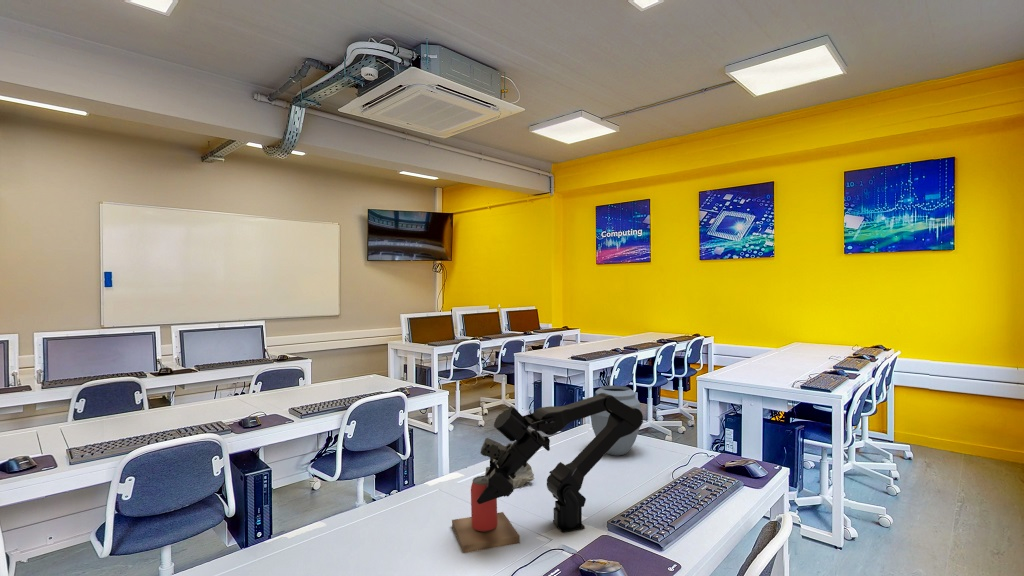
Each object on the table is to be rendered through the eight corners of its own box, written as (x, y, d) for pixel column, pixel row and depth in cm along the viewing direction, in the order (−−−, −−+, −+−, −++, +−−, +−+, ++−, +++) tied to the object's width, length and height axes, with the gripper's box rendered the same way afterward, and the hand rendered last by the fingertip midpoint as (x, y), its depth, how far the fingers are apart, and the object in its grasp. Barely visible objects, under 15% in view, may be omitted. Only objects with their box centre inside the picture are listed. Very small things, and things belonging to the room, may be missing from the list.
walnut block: (503, 521, 135) (502, 511, 135) (519, 546, 122) (519, 536, 122) (452, 529, 131) (452, 519, 131) (463, 556, 117) (463, 545, 117)
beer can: (499, 521, 129) (498, 474, 129) (495, 533, 123) (494, 484, 123) (474, 520, 130) (473, 474, 130) (469, 532, 123) (467, 483, 124)
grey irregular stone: (491, 493, 153) (491, 481, 153) (483, 474, 168) (483, 463, 168) (539, 488, 156) (539, 476, 156) (528, 470, 171) (527, 459, 171)
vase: (643, 446, 195) (643, 384, 195) (640, 463, 176) (640, 394, 176) (593, 442, 201) (593, 382, 201) (586, 458, 182) (585, 392, 182)
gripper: (499, 419, 136) (459, 460, 135) (498, 439, 117) (452, 487, 117) (528, 447, 136) (488, 488, 135) (532, 472, 117) (486, 520, 117)
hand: (478, 494), depth 126 cm, fingers open, 9 cm apart
